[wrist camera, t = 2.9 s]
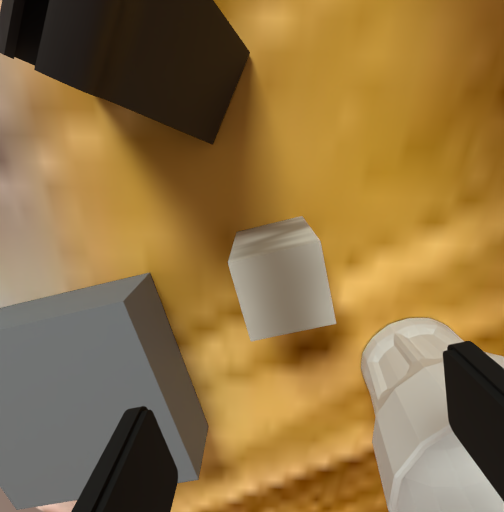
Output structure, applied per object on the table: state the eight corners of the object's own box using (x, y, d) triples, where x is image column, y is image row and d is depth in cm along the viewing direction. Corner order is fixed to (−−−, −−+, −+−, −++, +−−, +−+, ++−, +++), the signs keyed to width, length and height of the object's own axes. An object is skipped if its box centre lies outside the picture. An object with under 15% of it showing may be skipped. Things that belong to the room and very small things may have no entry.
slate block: (149, 272, 24) (122, 301, 19) (208, 426, 29) (198, 479, 24) (-30, 315, 26) (-95, 351, 21) (54, 454, 30) (16, 509, 26)
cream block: (302, 215, 22) (320, 241, 16) (314, 277, 24) (336, 323, 17) (236, 231, 23) (227, 262, 16) (252, 290, 24) (250, 341, 18)
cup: (414, 438, 29) (504, 600, 18) (308, 376, 27) (340, 517, 16) (518, 344, 25) (701, 476, 15) (405, 265, 23) (524, 354, 13)
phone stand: (250, 54, 19) (238, -91, 8) (213, 145, 21) (159, 133, 10) (115, -20, 18) (-122, -311, 7) (87, 82, 20) (-141, -16, 9)
